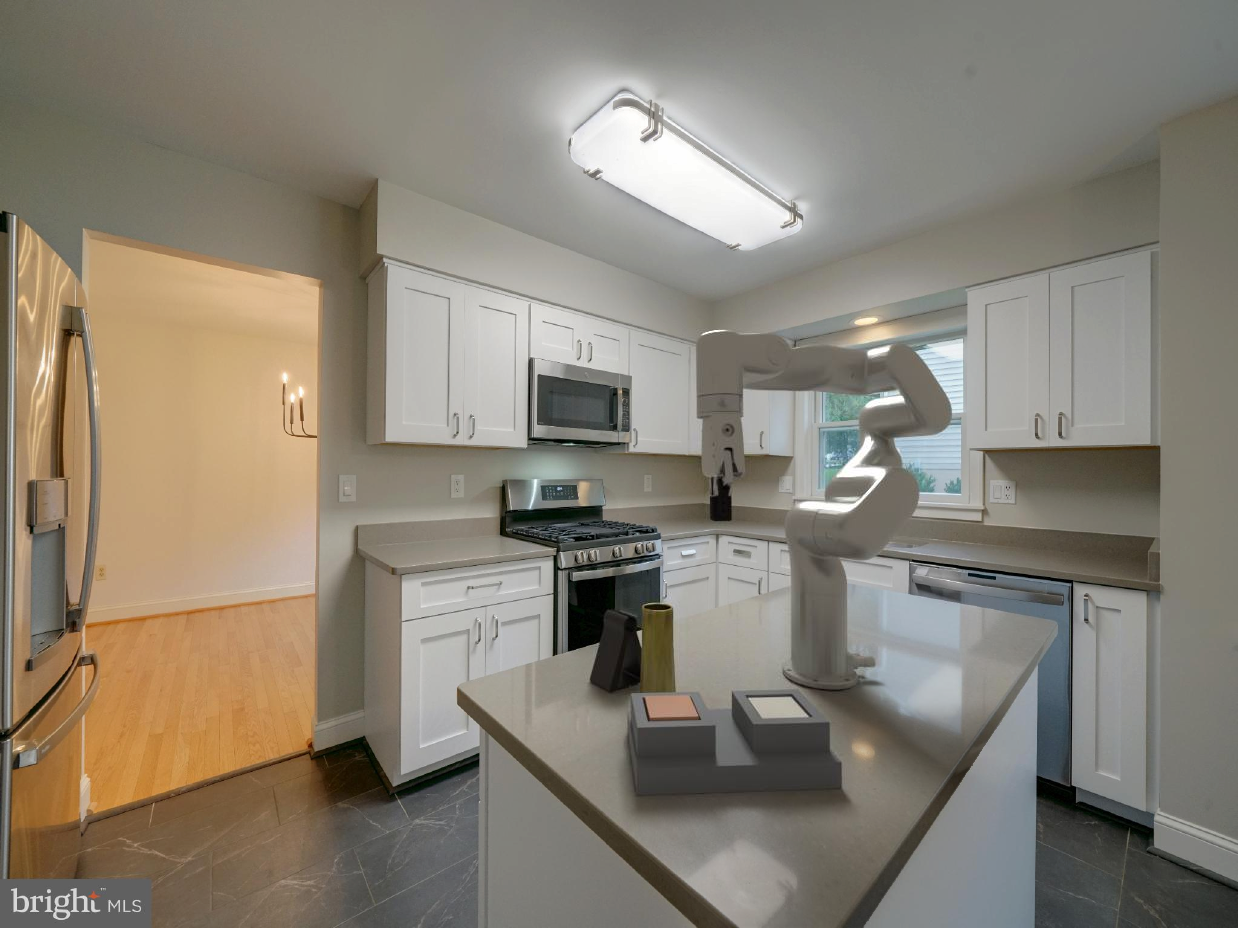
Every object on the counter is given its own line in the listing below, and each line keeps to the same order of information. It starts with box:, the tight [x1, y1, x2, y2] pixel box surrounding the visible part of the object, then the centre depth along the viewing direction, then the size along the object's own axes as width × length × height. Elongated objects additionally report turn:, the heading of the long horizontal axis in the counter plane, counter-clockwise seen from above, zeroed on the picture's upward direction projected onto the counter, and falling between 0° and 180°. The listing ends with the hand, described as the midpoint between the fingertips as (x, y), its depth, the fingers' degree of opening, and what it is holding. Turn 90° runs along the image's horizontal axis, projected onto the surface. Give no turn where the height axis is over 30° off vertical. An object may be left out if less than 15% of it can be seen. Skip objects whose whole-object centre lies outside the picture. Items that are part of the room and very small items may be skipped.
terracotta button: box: [645, 695, 699, 722], centre depth 65 cm, size 6×6×3 cm
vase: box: [638, 602, 677, 693], centre depth 85 cm, size 6×6×14 cm
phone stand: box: [589, 608, 642, 694], centre depth 90 cm, size 9×6×12 cm, turn 127°
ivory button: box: [748, 697, 809, 718], centre depth 66 cm, size 6×6×3 cm
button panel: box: [627, 688, 843, 796], centre depth 66 cm, size 24×14×6 cm, turn 93°
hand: (720, 520), depth 83 cm, fingers closed
